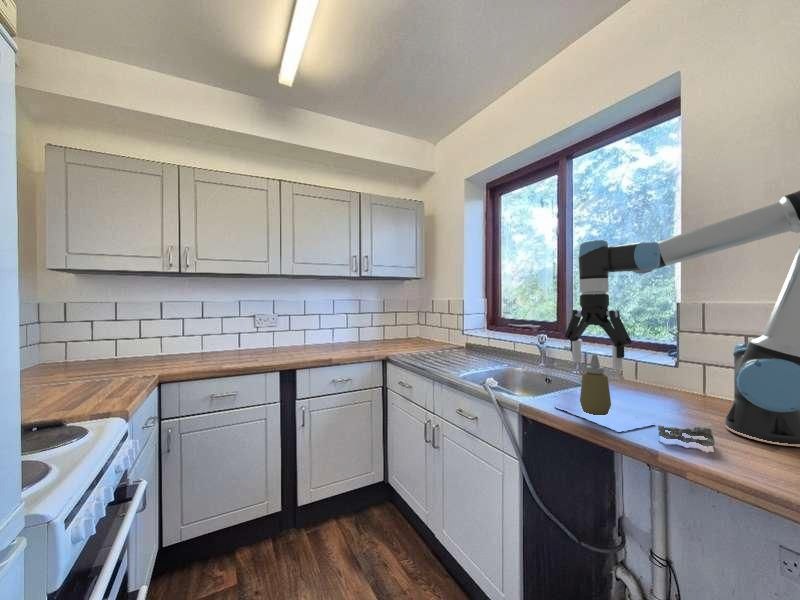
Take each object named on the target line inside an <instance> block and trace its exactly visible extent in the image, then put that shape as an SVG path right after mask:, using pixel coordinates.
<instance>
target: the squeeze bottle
mask: <svg viewBox="0 0 800 600" xmlns="http://www.w3.org/2000/svg"><path fill="white" fill-rule="evenodd" d="M581 377H582V378H581V385H580V396H579V402H580V403H581V406H582V409H583V411H584V412H586V413H589V414H593V415H606V414H608V412H609V409H610V408H611V406H612V400H611V392H610V386H609V385H610V384H609V376H608V375H606V374H605V367H604V366H601V365H600V361H599V356H598V354H596V353H593V354H592V355H591V360H590V364H589V365H586V366H585V372H584V373H583V374H582V376H581Z"/></svg>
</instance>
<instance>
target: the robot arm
mask: <svg viewBox="0 0 800 600" xmlns="http://www.w3.org/2000/svg"><path fill="white" fill-rule="evenodd" d="M788 232H789V233H790V232H792V233H796V234H800V190H798V191H795V192H792V193H789V194H786V195H783V196H781V198H780V199H779V201H778V202H775V203H773V204H770V205H766V206H764V207H760V208H756V209H754V210H751V211H748V212H745V213H742V214H739V215H736V216H732V217H729V218H726V219H723V220H721V221H717V222H714V223H711V224H708V225H705V226H702V227H699V228H696V229H693V230H690V231H687V232H684V233H681V234H678V235H675V236H671V237H668V238H666V239H662V240H659V241H640V242H636V243H627V244H626V243H625V244H619V245H609V244H608V241H607V240H605V239H593V240H586V241H583V242H581V243H580V244H579V246H578V257H577V260H578V271H579V273H578V274H579V281H578V282H579V285H578V286H579V293H580V295H579V306H580V307H581V309H580V308H579V309H573V310H572V311H571V314H572V315H571V318H570V321H569V323H568V326H567V329H566V332H565V334H564V338H565V339H569V341H570V351H571V352H572V355H571V356H572V357H571V358H572V362H573V363H580V362H582V343H581V340H580V337H581V336H582V335H583V333H584V332H585V331H586V329H587V328H588V327H589V326H592V325H593V326H599V327H600V328H602V329H603V331H604V332H605V333H606V335H607V336H608V337H609V339H610V340H611V342H612V343H613V345H612V347H611V349H612V352H611V353H612V370H614V371H620V370H623V358H624V357H625V346H628V345H631V344H632V342H633V341H632V339H631V337H630V335H629V334H628V331H627V329H626V327H625V325H624V323H623V321H622V319H621V315H620V311H619V310H618V309H611V310H609V306H610V295H609V293H608V292H609V286H610V285H609V273H616V272H617V273H618V272H620V273H621V272H633V273H637V274H647V273H650V272H652V271H654V270H657V269H660V268H661V269H662V268H665V267H666V266H667V267H668V266H670V265H674V264H678V263H681V262H685V261H688V260H692V259H696V258H700V257H703V256H707V255H709V254H713V253H716V252H717V253H718V252H720V251H723V250H727V249H728V250H729V249H731V248H736V247H739V246H743V245H746V244H749V243H752V242H756V241H760V240H764V239H767V238H770V237H775V236H777V235H781V234H784V233H788ZM769 316H770V317H769V318H768V319H767V320H768V321H767V322H766V326H765V327H764V330H763V333H762V334H761V335H760V336H758V337H755V338H752V339H750V340H749V342H748V343H738V344H735V346H734V349H733V356H732V357H734V358H733V359H734V360H733V362H734V363H733V364H734V366H733V371H734V372H733V378H734V379H733V381H734V382H733V383H734V384H733V388H734V389H733V390H734V391H733V394H734V397H733V403H732V404H731V406H730V409H729V411H728V413H727V415H726V417H725V419H724V421H725V422H724V423H725V424H726V425H727V426H728V427H729V428H731V429H733V430H735V431H737V432H740V433H743V434H746V435H749V436H752V437H756V438H759V439H763V440H767V441H772V442H779V443H788V444H800V246H799V247H798V249H797V252H796V254H795V256H794V259H793V261H792V263H791V266H790V268H789V271H788V273H787V276H786V278H785V280H784V282H783V285H782V287H781V290H780V292H779V294H778V297H777V299H776V301H775V304H774V307H773V309H772V310H771V314H770V315H769Z"/></svg>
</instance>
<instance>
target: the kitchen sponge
mask: <svg viewBox="0 0 800 600" xmlns="http://www.w3.org/2000/svg"><path fill="white" fill-rule="evenodd" d="M665 430H668V431H671V432H670V434H669V433H668V432H665ZM657 431H658V437H659V436H662V437H664V438H666V439H678V440H681V441H683V442H686V443H689V442H696V443H699V444H701V445H703V446H707V447H708V446H714V447H715V444H716V442H715V437H714V436H713V432H712V429H711V428H707V427H699V426H698V427H695V426H694V428H693V429H692V428H689V427H686V428H679V427H677V426H676V427H671V426H670V427H667V426H664V425H658V426H657ZM659 431H660V432H659ZM682 433H686V434H688V435H690V436H704V437H705V438H708V439H707V440H699V439H693V438H692V437H691V438H685V437H684V436H682Z"/></svg>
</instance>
